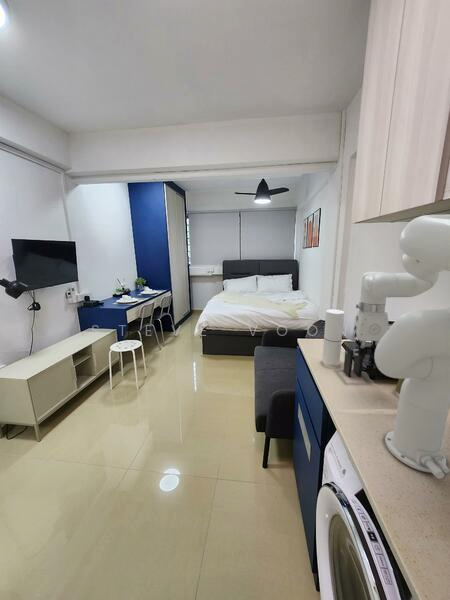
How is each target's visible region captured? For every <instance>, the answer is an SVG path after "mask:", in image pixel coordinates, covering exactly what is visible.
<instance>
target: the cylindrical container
mask: <svg viewBox="0 0 450 600" xmlns="http://www.w3.org/2000/svg"><path fill="white" fill-rule="evenodd" d="M344 322H345V311H344V310H341V309H337V308H336V309H335V308H330V309H326V310H325V322H324V334H323V345H322V346H323V347H322V359H321V361H322V363H323V364H325V365H328V366H332V367H333V366H339V365H340V361H341V352H342V351H341V350H342V342H343V340H342V339H343V332H344Z"/></svg>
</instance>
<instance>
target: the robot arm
mask: <svg viewBox="0 0 450 600" xmlns="http://www.w3.org/2000/svg"><path fill="white" fill-rule="evenodd" d="M399 247H400V250H401V251H402V253H403V255H402V257H401V263H402V267H403V269H404V270H405V271H406V272H384V271H366V272H364V273H363V274H362V277H361V288H360V298H359V299H360V300H359V304H356V305H355V308H356V309H358V310H357V311H356V314H355V318H354V321H353V329H352V333H351V334H350V336H349V338H348V339H349V341H351V342H353V343H355V345H356V346H358V355H359V356H360V357H361V358H362V359H363V360H365V359H366V355H365V353H366V349H365V348H364V347H365V346H366V342H371V345H370V346H369V347H371V348H372V349H373V353H372V354H371V355H369V357H371V358H372V359H374V363H375V365H376V368H377V369H378V371H380V373H382V374H383V375H384V376H386V377H389V378H393V379H399V378H403V379H405V380H404V381H403V384H402V386H401V391H400V394H399V397H398V403H397V408H396V415H395V421H394V427H393V430H390V431H388V432H387V433H386V435H385V439H384V442H385V446H386V448H387V450H388V451H389V452H390V453H391V455H392V456H394V457H395V458H396V459H397V460H399V461H400V462H401V463H403V464H405V465H406V466H408V467H410V468H412V469H415V470H417V471H421V472H425V473H431V474H432V475H433V476H434V477H435V478H436V479H437V480H441V479H443V478H444V477H445V474H448V473H450V468H449V467H448V466H447V458H446V456H445V454H444V452H443V451H442V450H441V447H442V442H443V438H444V432H445V428H446V424H447V419H448V415H449V411H450V307H448V308H443V309H442V308H441V309H415V310H410V311H407V312H405V313H403V314H401V315H400V316H398V318H397V319H396V320H395V321H394V322H393V323H392V325H391V326H389V315H388V312H387V311H386V302H387V298H413V297H417V296H420V295H421V294H423V293H425V292H427V291H429V290H431V289H432V288H433V287H434V286H435V285H436V283H437V281H438V279H439V276H440V272H442V271H443V270H445V271H449V272H450V213H446V214H425V215H420V216H418V217H417V216H416V217H415V218H413V219H412V220H410V221H409V222H408V223H407V224H406V225H405V226H404V227H403V229H402V231H401V233H400V235H399Z"/></svg>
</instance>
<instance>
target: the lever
mask: <svg viewBox="0 0 450 600" xmlns="http://www.w3.org/2000/svg"><path fill="white" fill-rule="evenodd" d="M364 348H365V349H366V353H365V356H370V355H371V354H372V353H373V349H372V348H371V347H370V346H369V345H365V347H364ZM351 349H352V350H353V351H354V352H353V357H355V356H359V355H358V349H356V348H351Z"/></svg>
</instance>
